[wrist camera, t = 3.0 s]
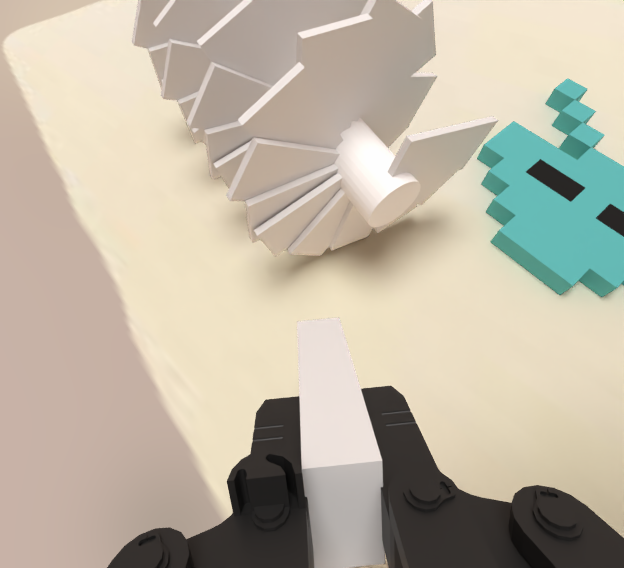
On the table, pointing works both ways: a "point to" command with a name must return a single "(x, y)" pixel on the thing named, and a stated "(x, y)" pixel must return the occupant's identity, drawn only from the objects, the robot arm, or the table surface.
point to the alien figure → (559, 199)
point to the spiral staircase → (308, 110)
